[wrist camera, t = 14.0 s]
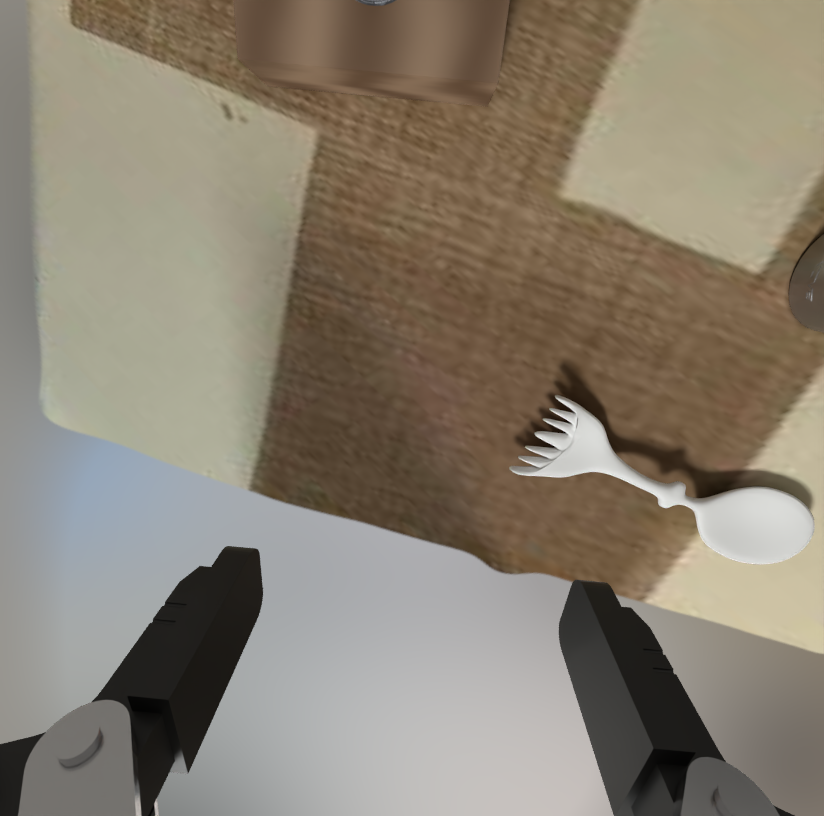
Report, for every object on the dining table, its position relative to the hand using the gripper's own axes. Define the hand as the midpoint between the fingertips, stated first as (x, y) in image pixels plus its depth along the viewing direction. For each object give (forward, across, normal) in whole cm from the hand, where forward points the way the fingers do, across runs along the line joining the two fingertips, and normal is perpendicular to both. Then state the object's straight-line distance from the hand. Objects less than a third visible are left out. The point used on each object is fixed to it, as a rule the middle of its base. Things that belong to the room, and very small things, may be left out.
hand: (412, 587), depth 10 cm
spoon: (+29, -26, +13) cm, 41 cm away
